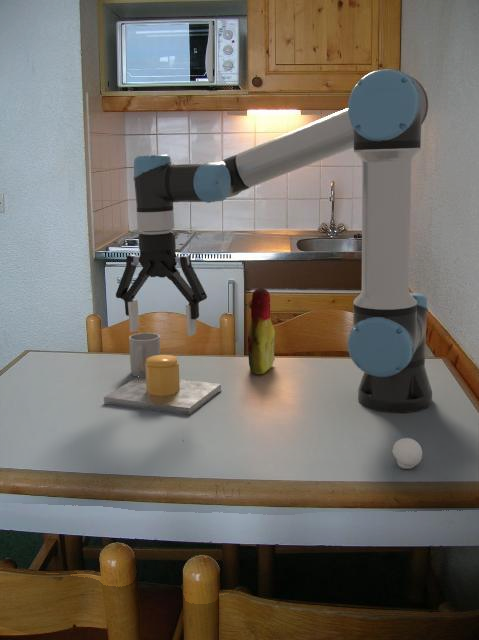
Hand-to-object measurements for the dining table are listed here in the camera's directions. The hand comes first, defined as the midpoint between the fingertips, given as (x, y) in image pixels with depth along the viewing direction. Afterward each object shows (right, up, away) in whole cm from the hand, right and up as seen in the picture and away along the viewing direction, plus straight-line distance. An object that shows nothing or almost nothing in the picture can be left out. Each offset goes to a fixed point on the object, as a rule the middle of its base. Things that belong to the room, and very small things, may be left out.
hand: (162, 332), depth 156 cm
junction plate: (0, -14, +3) cm, 14 cm away
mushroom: (+44, -22, -33) cm, 59 cm away
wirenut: (0, -12, +3) cm, 13 cm away
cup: (-6, -10, +20) cm, 23 cm away
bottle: (+21, -10, +21) cm, 32 cm away
